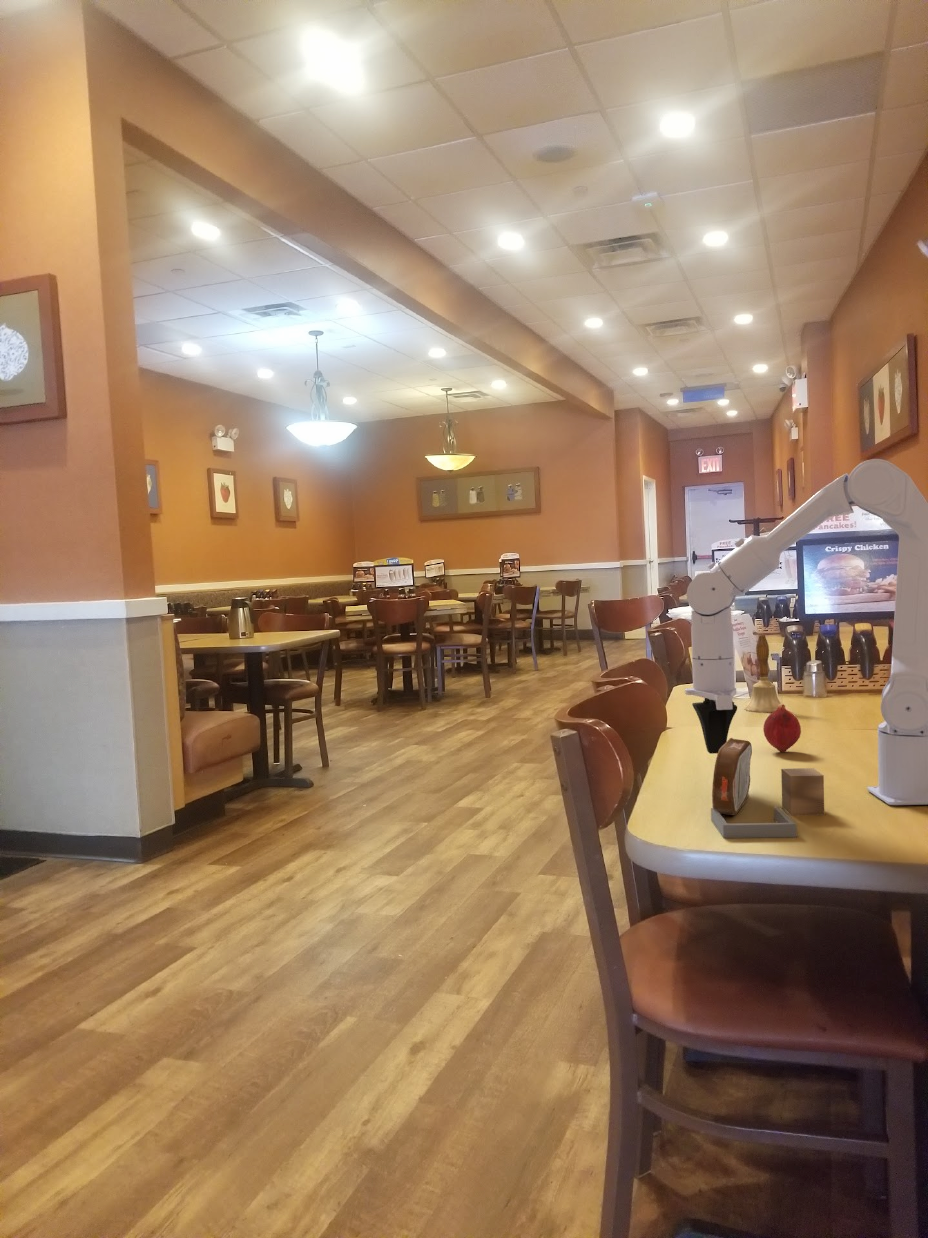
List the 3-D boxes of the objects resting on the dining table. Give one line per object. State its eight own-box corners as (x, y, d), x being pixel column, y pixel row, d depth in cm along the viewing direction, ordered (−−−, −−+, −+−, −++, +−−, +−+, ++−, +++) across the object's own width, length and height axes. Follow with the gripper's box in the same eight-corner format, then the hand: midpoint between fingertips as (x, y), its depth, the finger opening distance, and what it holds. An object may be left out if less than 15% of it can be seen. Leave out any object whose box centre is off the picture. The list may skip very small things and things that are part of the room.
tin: (731, 792, 122) (730, 731, 121) (755, 794, 120) (754, 733, 120) (710, 821, 108) (708, 753, 108) (736, 824, 107) (735, 755, 107)
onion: (804, 755, 143) (803, 706, 142) (766, 755, 144) (765, 707, 143) (797, 748, 148) (796, 701, 148) (761, 748, 150) (760, 701, 149)
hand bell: (766, 714, 183) (764, 637, 182) (735, 709, 190) (734, 635, 189) (794, 709, 187) (792, 634, 186) (763, 705, 194) (761, 632, 193)
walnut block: (813, 806, 114) (813, 768, 113) (824, 815, 110) (823, 775, 109) (782, 807, 114) (781, 768, 114) (791, 816, 110) (790, 776, 110)
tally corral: (779, 819, 109) (778, 807, 108) (796, 837, 101) (796, 824, 101) (711, 820, 109) (710, 808, 109) (723, 838, 102) (723, 825, 102)
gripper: (676, 654, 133) (679, 743, 134) (693, 664, 119) (696, 764, 119) (723, 652, 132) (726, 742, 133) (746, 662, 118) (749, 762, 119)
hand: (715, 752), depth 126 cm, fingers closed
